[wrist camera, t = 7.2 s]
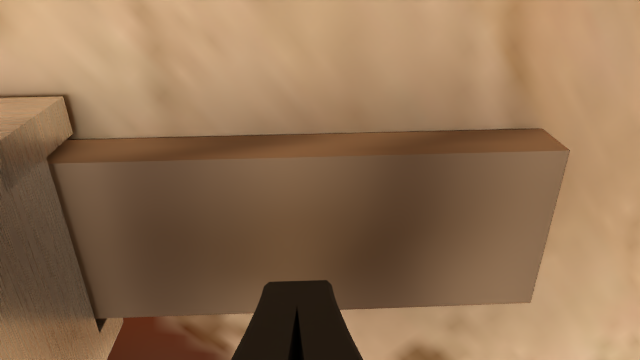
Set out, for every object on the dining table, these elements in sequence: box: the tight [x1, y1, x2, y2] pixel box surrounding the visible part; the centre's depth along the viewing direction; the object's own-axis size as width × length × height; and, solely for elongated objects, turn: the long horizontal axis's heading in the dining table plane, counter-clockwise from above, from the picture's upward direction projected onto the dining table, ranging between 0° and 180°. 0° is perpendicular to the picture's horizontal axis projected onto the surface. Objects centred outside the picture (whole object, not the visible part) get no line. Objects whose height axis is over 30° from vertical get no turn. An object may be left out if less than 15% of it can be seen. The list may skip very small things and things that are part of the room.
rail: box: [46, 129, 570, 319], centre depth 11 cm, size 20×8×6 cm, turn 90°
